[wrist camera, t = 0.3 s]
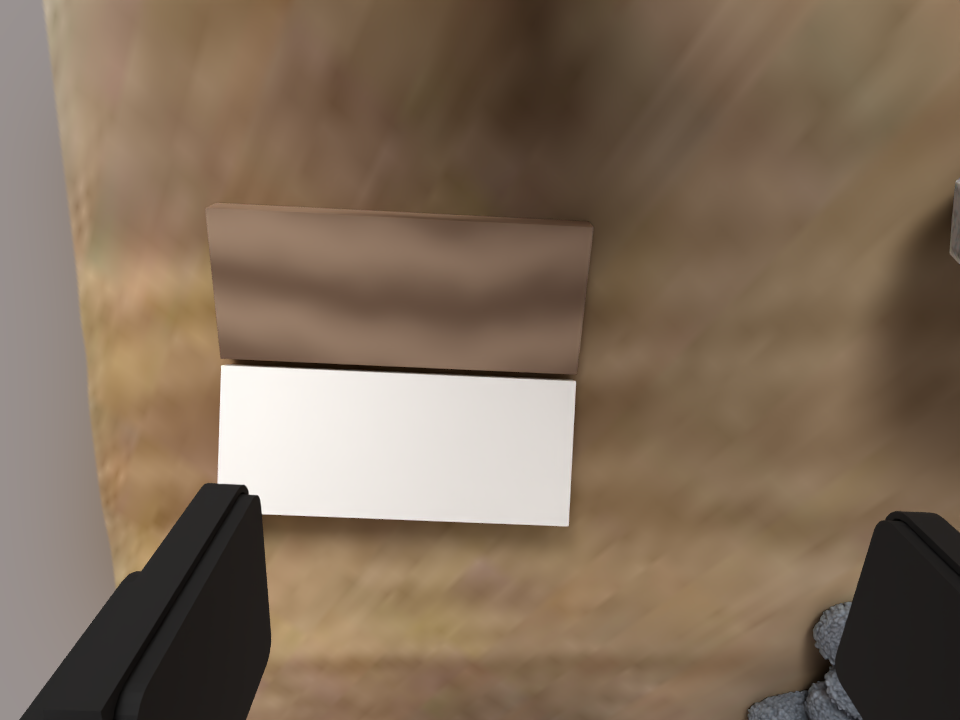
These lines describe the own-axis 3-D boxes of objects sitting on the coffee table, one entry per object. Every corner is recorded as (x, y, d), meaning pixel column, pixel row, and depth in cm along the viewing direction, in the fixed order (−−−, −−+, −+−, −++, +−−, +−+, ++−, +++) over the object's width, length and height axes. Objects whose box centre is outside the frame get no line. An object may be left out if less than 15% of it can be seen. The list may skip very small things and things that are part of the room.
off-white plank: (231, 364, 47) (221, 365, 45) (571, 379, 48) (576, 381, 46) (227, 504, 48) (216, 512, 46) (564, 518, 48) (568, 526, 46)
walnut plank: (216, 202, 43) (205, 208, 41) (588, 221, 44) (593, 227, 42) (230, 347, 47) (220, 358, 45) (573, 363, 47) (576, 374, 46)
